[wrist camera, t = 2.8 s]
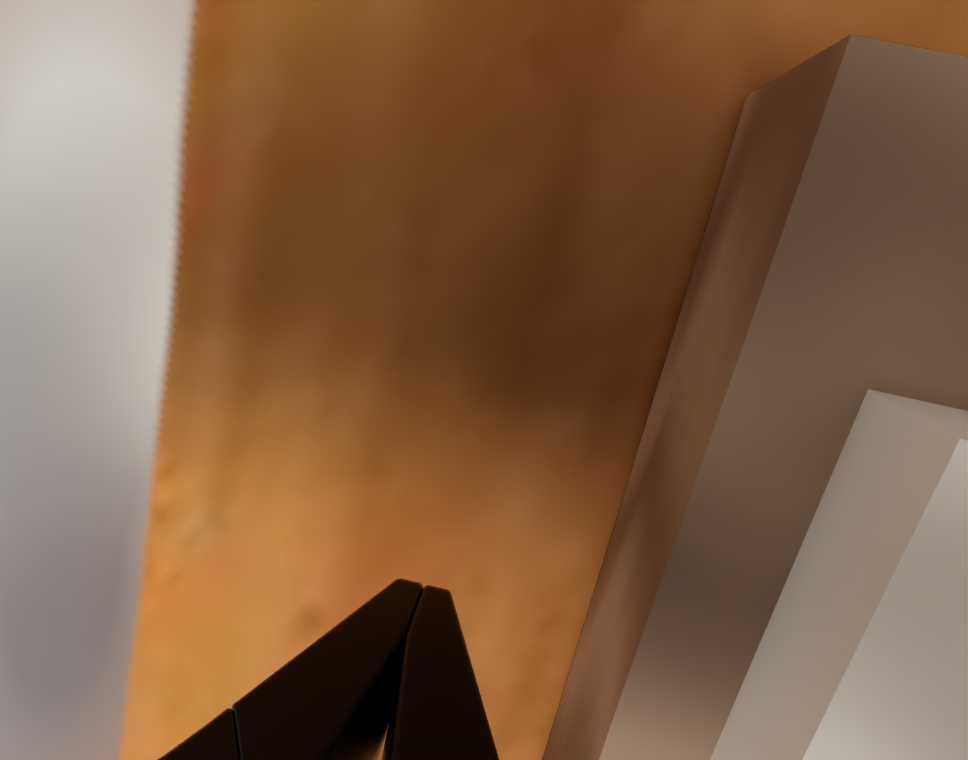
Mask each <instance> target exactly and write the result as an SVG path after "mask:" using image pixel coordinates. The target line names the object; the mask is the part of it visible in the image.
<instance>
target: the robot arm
mask: <svg viewBox="0 0 968 760" xmlns="http://www.w3.org/2000/svg"><path fill="white" fill-rule="evenodd" d="M387 729H388V730H387ZM386 732H387V735H386ZM385 736H386V740H385V745H384V751H383V756H382V760H499V757H498V754H497V751H496V747H495V744H494V740H493V737H492V733H491V730H490V726H489V723H488V719H487V716H486V713H485V709H484V706H483V702H482V699H481V695H480V692H479V688H478V685H477V681H476V678H475V674H474V671H473V668H472V664H471V661H470V657H469V654H468V650H467V647H466V643H465V640H464V636H463V633H462V630H461V626H460V623H459V619H458V616H457V612H456V609H455V605H454V602H453V598H452V595H451V593H450V591H449V590H447V589H442V588H438V587H434V586H430V585H427V586H425V587H424V588H423V586H422V584H420V583H417V582H413V581H409V580H405V579H397V580H395V581H394V582H392V583H391V584H390V585H388V586H387V587H386V588H385V589H383V590H382V591H381V592H379V593H378V594H377V595H375V596H374V597H373V598H372V599H370V600H369V601H368V602H366V603H365V604H364V605H362V606H361V607H360V608H358V609H357V610H356V611H355V612H353V613H352V614H351V615H349V616H348V617H347V618H345V619H344V620H343V621H341V622H340V623H339V624H338V625H336V626H335V627H334V628H332V629H331V630H330V631H328V632H327V633H326V634H325V635H323V636H322V637H321V638H319V639H318V640H317V641H315V642H314V643H313V644H311V645H310V646H309V647H308V648H306V649H305V650H304V651H302V652H301V653H300V654H298V655H297V656H296V657H294V658H293V659H292V660H291V661H289V662H288V663H287V664H285V665H284V666H283V667H281V668H280V669H279V670H278V671H276V672H275V673H274V674H272V675H271V676H270V677H268V678H267V679H266V680H264V681H263V682H262V683H261V684H259V685H258V686H257V687H255V688H254V689H253V690H251V691H250V692H249V693H247V694H246V695H245V696H244V697H242V698H241V699H240V700H238V701H237V702H236V703H234V704H233V706H232V709H230V708H228V709H226V710H225V711H223V712H222V713H221V714H220V715H218V716H217V717H216V718H214V719H213V720H212V721H211V722H209V723H208V724H207V725H205V726H204V727H203V728H201V729H200V730H198V731H197V732H196V733H194V734H193V735H192V736H190V737H189V738H187V739H186V740H185V741H183V742H182V743H181V744H179V745H178V746H176V747H175V748H174V749H172V750H171V751H170V752H168V753H167V754H165V755H164V756H162V757H161V758H159V759H158V760H377V758H378V755H379V752H380V750H381V747H382V744H383V742H384V739H385Z"/></svg>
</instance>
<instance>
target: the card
mask: <svg viewBox="0 0 968 760" xmlns="http://www.w3.org/2000/svg"><path fill="white" fill-rule="evenodd" d="M710 760H968V411H966V410H961V409H957V408H952V407H948V406H943V405H938V404H934V403H929V402H925V401H920V400H916V399H911V398H906V397H902V396H897V395H893V394H888V393H883V392H879V391H874V390H870V389H868V391H867V393H866V395H865V398H864V400H863V402H862V405H861V407H860V409H859V412H858V414H857V416H856V419H855V421H854V423H853V426H852V428H851V431H850V433H849V435H848V438H847V440H846V442H845V445H844V447H843V449H842V452H841V454H840V456H839V459H838V461H837V463H836V466H835V468H834V470H833V473H832V475H831V477H830V480H829V482H828V484H827V487H826V489H825V491H824V494H823V496H822V499H821V501H820V503H819V506H818V508H817V510H816V513H815V515H814V517H813V520H812V522H811V524H810V527H809V529H808V531H807V534H806V536H805V538H804V541H803V543H802V545H801V548H800V550H799V552H798V555H797V557H796V559H795V562H794V564H793V566H792V569H791V571H790V574H789V576H788V578H787V581H786V583H785V585H784V588H783V590H782V592H781V595H780V597H779V599H778V602H777V604H776V606H775V609H774V611H773V613H772V616H771V618H770V620H769V623H768V625H767V627H766V630H765V632H764V634H763V637H762V639H761V642H760V644H759V646H758V649H757V651H756V653H755V656H754V658H753V660H752V663H751V665H750V667H749V670H748V672H747V674H746V677H745V679H744V681H743V684H742V686H741V688H740V691H739V693H738V695H737V698H736V700H735V702H734V705H733V707H732V709H731V712H730V714H729V717H728V719H727V721H726V724H725V726H724V728H723V731H722V733H721V735H720V738H719V740H718V742H717V745H716V747H715V749H714V752H713V754H712V756H711V759H710Z"/></svg>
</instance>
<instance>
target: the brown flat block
mask: <svg viewBox="0 0 968 760" xmlns="http://www.w3.org/2000/svg"><path fill="white" fill-rule="evenodd" d="M868 389H870V390H874V391H879V392H883V393H888V394H893V395H897V396H902V397H906V398H911V399H916V400H920V401H925V402H929V403H934V404H938V405H943V406H948V407H952V408H957V409H961V410H966V411H968V57H967V56H962V55H957V54H951V53H946V52H941V51H936V50H931V49H925V48H920V47H915V46H910V45H905V44H899V43H894V42H889V41H884V40H878V39H873V38H868V37H863V36H858V35H852V34H851V35H849V36H847V37H846V38H844V39H842V40H841V41H839V42H837V43H835V44H834V45H832V46H830V47H829V48H827V49H825V50H824V51H822V52H820V53H818V54H817V55H815V56H813V57H812V58H810V59H808V60H807V61H805V62H803V63H802V64H800V65H798V66H796V67H795V68H793V69H791V70H790V71H788V72H786V73H785V74H783V75H781V76H779V77H778V78H776V79H774V80H773V81H771V82H769V83H768V84H766V85H764V86H763V87H761V88H759V89H757V90H756V91H754V92H752V93H751V94H749V95H747V97H746V100H745V103H744V106H743V110H742V113H741V116H740V119H739V123H738V126H737V129H736V132H735V136H734V139H733V142H732V145H731V149H730V152H729V155H728V158H727V162H726V165H725V168H724V171H723V175H722V178H721V181H720V184H719V188H718V191H717V194H716V197H715V201H714V204H713V207H712V210H711V214H710V217H709V220H708V223H707V227H706V230H705V233H704V236H703V240H702V243H701V246H700V249H699V253H698V256H697V259H696V262H695V266H694V269H693V272H692V275H691V279H690V282H689V285H688V288H687V292H686V295H685V298H684V301H683V305H682V308H681V311H680V314H679V318H678V321H677V324H676V327H675V331H674V334H673V337H672V340H671V344H670V347H669V350H668V353H667V357H666V360H665V363H664V366H663V370H662V373H661V376H660V379H659V383H658V386H657V389H656V392H655V396H654V399H653V402H652V405H651V409H650V412H649V415H648V418H647V422H646V425H645V428H644V431H643V435H642V438H641V441H640V444H639V448H638V451H637V454H636V457H635V461H634V464H633V467H632V470H631V474H630V477H629V480H628V483H627V487H626V490H625V493H624V496H623V500H622V503H621V506H620V509H619V513H618V516H617V519H616V522H615V526H614V529H613V532H612V535H611V539H610V542H609V545H608V548H607V552H606V555H605V558H604V561H603V565H602V568H601V571H600V574H599V578H598V581H597V584H596V587H595V591H594V594H593V597H592V600H591V604H590V607H589V610H588V613H587V617H586V620H585V623H584V626H583V630H582V633H581V636H580V639H579V643H578V646H577V649H576V652H575V656H574V659H573V662H572V665H571V669H570V672H569V675H568V678H567V682H566V685H565V688H564V691H563V695H562V698H561V701H560V704H559V708H558V711H557V714H556V717H555V721H554V724H553V727H552V730H551V734H550V737H549V740H548V743H547V746H546V750H545V753H544V756H543V759H542V760H710V759H711V756H712V754H713V752H714V749H715V747H716V745H717V742H718V740H719V738H720V735H721V733H722V731H723V728H724V726H725V724H726V721H727V719H728V717H729V714H730V712H731V709H732V707H733V705H734V702H735V700H736V698H737V695H738V693H739V691H740V688H741V686H742V684H743V681H744V679H745V677H746V674H747V672H748V670H749V667H750V665H751V663H752V660H753V658H754V656H755V653H756V651H757V649H758V646H759V644H760V642H761V639H762V637H763V634H764V632H765V630H766V627H767V625H768V623H769V620H770V618H771V616H772V613H773V611H774V609H775V606H776V604H777V602H778V599H779V597H780V595H781V592H782V590H783V588H784V585H785V583H786V581H787V578H788V576H789V574H790V571H791V569H792V566H793V564H794V562H795V559H796V557H797V555H798V552H799V550H800V548H801V545H802V543H803V541H804V538H805V536H806V534H807V531H808V529H809V527H810V524H811V522H812V520H813V517H814V515H815V513H816V510H817V508H818V506H819V503H820V501H821V499H822V496H823V494H824V491H825V489H826V487H827V484H828V482H829V480H830V477H831V475H832V473H833V470H834V468H835V466H836V463H837V461H838V459H839V456H840V454H841V452H842V449H843V447H844V445H845V442H846V440H847V438H848V435H849V433H850V431H851V428H852V426H853V423H854V421H855V419H856V416H857V414H858V412H859V409H860V407H861V405H862V402H863V400H864V398H865V395H866V393H867V391H868Z"/></svg>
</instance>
